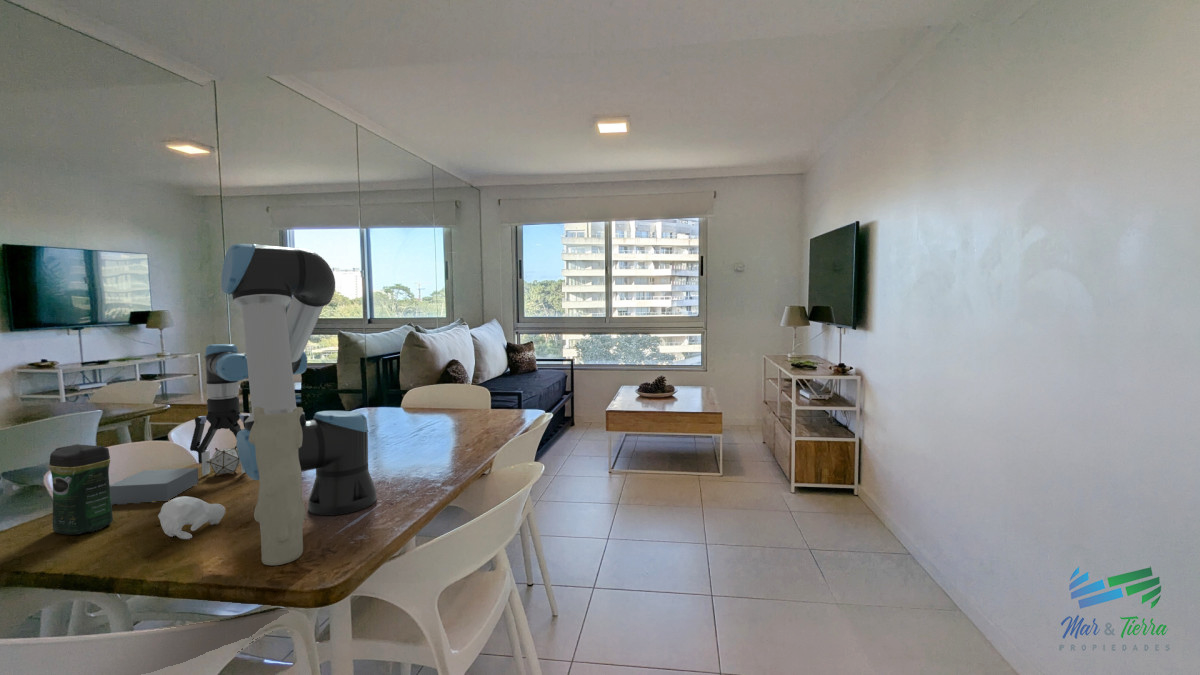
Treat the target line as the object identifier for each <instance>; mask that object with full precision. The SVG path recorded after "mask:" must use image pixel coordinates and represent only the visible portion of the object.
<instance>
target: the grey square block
mask: <svg viewBox="0 0 1200 675" xmlns="http://www.w3.org/2000/svg"><path fill="white" fill-rule="evenodd" d="M197 483H198V484H199V468H198V467H188V468H187V467H186V468H168V469H165V468H164V469H144V470H142V471H139V472H136V473H135V474H132V475H130V476H128V477H126V478H123V479H121V480H118V481H116V482H114V483H111V484H109V485H110V496H111V504H112V506H113V505H114V504H117V505H128V504H127V503H134V504H141V503H140V502H151V503H153V502H152V501H168V500H169V499H171V498H173V497H175V496H176V497H178V496H179V495H178V494H180V493H182V492H183V491H185V490H187V489H189V488H191V487H192V486H194V485H196V484H197ZM196 486H197V485H196ZM194 487H195V486H194ZM191 489H192V488H191ZM189 490H190V489H189ZM187 491H188V490H187ZM185 492H186V491H185ZM182 494H183V493H182ZM177 495H178V496H177ZM180 495H181V494H180ZM176 497H175V498H176ZM173 499H174V498H173ZM171 500H172V499H171ZM169 501H170V500H169Z"/></svg>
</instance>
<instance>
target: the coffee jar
mask: <svg viewBox="0 0 1200 675" xmlns="http://www.w3.org/2000/svg"><path fill="white" fill-rule="evenodd" d="M110 463H111V455H110V450H109V448H108V447H106V446H103V445H90V444H89V445H88V444H79V443H76V444H72V445H71V444H70V445H66V446H61V447H57V448H55V449H54V451H52V452H51V453H50V455H49V464H48V465H49V470H50V474H51V479H52V531H53V532H54V533H56V534H61V535H62V534H63V535H71V536H72V535H80V534H83V533H84V534H85V533H88V532H95V530H96V531H98V529H99V530H101V529H103V528H105V527H107V526H109V525H110V524H111V523H113V519H114V517H113V516H114V515H113V505H112V504H111V496H110V485H111V484H110V474H109V473H110V472H109V471H110V470H109V469H110Z"/></svg>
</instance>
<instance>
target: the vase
mask: <svg viewBox="0 0 1200 675" xmlns="http://www.w3.org/2000/svg"><path fill="white" fill-rule="evenodd" d="M296 407H297V408H295V409H294V410H293V412H289V413H282V414H265V412H264V409H263V408H260V407H255V408H254V424H253V426H252V428H251V431H250V434H249V442H250V443H252V444H254V445H255V450H256V462H257V467H258V472H259V480H258V481H259V484H258V486H259V487H258V493H257V502H256V505H255V509H254V512H253V518H254V520H255V521H256V522H257V523H259V530H260V531H259V532H260V545H261V546H260V549H261V550H260V551H261V562H262V564H263V565H266V566H279V565H284V564H289V563H291V562H294V561H296V560H298V559H299V558H300V557H301V556H302V554H303V552H304V542H303V541H304V540H303V537H304V536H303V524H304V521H305V519H306V508H305V503H304V500H303V486H302V482H303V481H302V480H303V476H302V474H303V473H302V472H301V467H300V462H299V456H298V449H299V448H300V447H301V446H302V440H303V434H302V428H301V425H300V420H299V419H300V416H301V414H302V412H304V409H303V407H301V406H296Z"/></svg>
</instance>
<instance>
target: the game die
mask: <svg viewBox="0 0 1200 675" xmlns="http://www.w3.org/2000/svg"><path fill="white" fill-rule="evenodd" d="M214 450H215V452H214V454H213V455H212V457H210V461H207V463H210V467H211V468H212V470H213V472H214V473H215V474H214V475H213V477H214V476H215V477H217V475H223V474H224V475H225V474H231V473H233V474H234V475H237V472H236V471H237V469H238V467H239V466H240V465H241V462H240V459H239V455H238V451H237V445H236V446H234V448H233V447H231V448H223V449H222V448H221V449H218V448H217V447H215V448H214Z"/></svg>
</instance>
